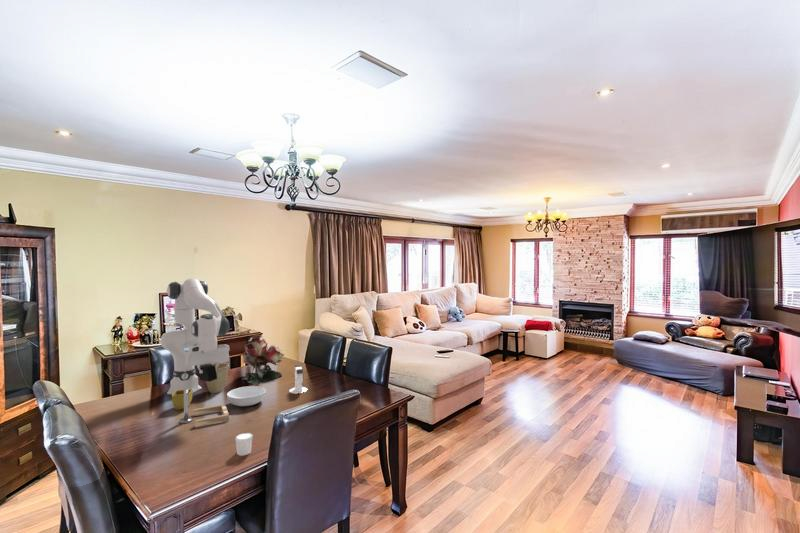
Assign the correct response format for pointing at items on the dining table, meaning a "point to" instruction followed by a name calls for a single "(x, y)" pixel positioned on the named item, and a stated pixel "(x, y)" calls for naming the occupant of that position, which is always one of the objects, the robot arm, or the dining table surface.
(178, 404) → the flower pot
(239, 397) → the serving bowl
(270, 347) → the rose bouquet
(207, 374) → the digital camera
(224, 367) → the plant pot
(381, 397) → the dining table surface
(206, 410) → the wooden frame
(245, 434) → the shot glass
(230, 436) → the dining table surface
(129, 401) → the dining table surface
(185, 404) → the hook post
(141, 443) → the dining table surface
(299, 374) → the white post stand
